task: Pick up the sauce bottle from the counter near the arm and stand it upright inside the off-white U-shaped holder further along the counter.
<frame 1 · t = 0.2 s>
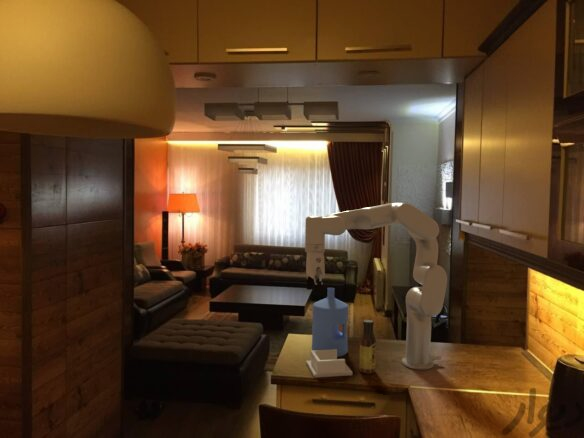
hand: (314, 292, 177), 31 cm above the worktop, tool pointing down, fingers open, 9 cm apart
sauce bottle: (367, 371, 179), on the worktop
end holder: (328, 369, 180), on the worktop
water jug: (329, 352, 200), on the worktop
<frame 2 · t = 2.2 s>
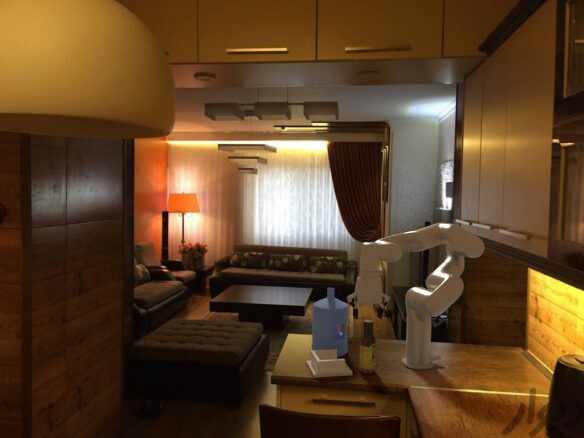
hand: (367, 318, 177), 21 cm above the worktop, tool pointing down, fingers open, 9 cm apart
nothing on the worktop moved.
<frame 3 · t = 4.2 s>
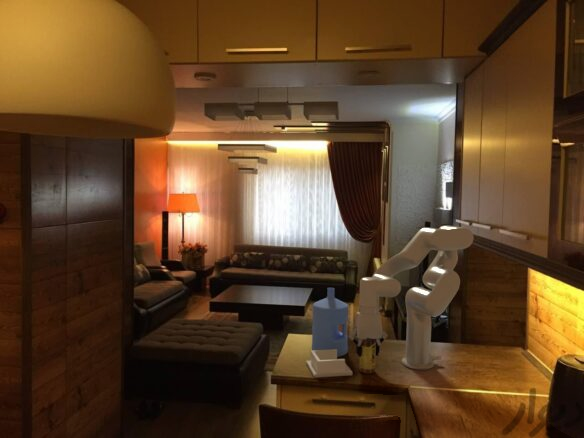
hand: (367, 354, 178), 7 cm above the worktop, tool pointing down, fingers closed on sauce bottle, 6 cm apart
sauce bottle: (367, 371, 179), on the worktop, touching gripper
everything else where it was.
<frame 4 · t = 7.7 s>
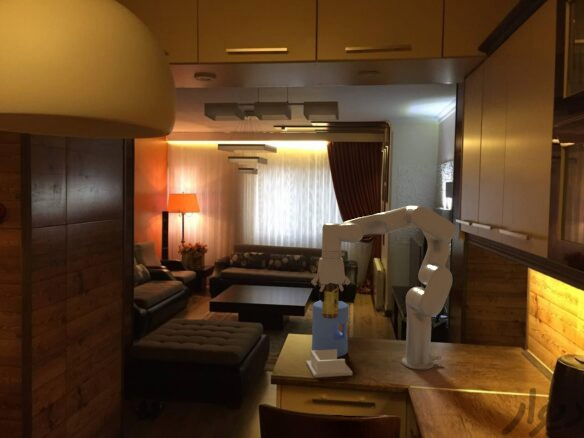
hand: (330, 300, 178), 27 cm above the worktop, tool pointing down, fingers closed on sauce bottle, 6 cm apart
sauce bottle: (330, 317, 179), point 21 cm above the worktop, touching gripper
everything else where it was.
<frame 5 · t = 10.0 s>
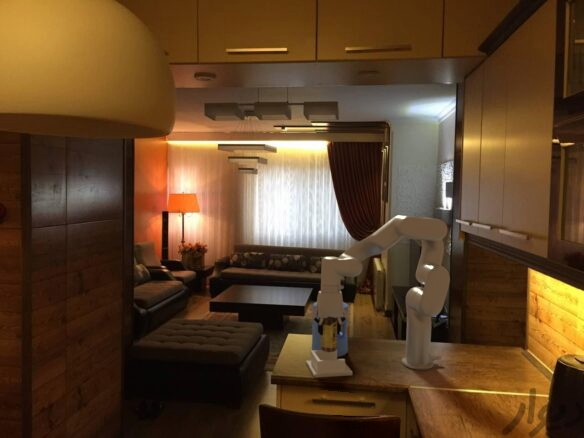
hand: (329, 333, 179), 14 cm above the worktop, tool pointing down, fingers closed on sauce bottle, 6 cm apart
sauce bottle: (328, 350, 180), point 8 cm above the worktop, touching gripper
everything else where it was.
when the fingers open (9 cm above the worktop, at t = 11.6 s): sauce bottle drops 1 cm, resting on end holder.
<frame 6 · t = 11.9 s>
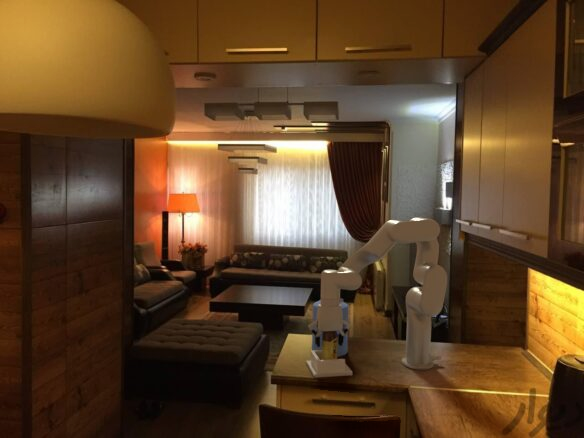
hand: (329, 345, 179), 10 cm above the worktop, tool pointing down, fingers open, 8 cm apart
sauce bottle: (329, 366, 180), point 1 cm above the worktop, touching end holder
everything else where it was.
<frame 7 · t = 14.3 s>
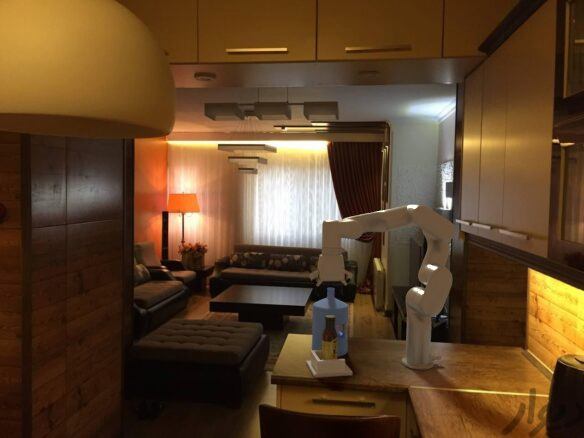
hand: (330, 295, 178), 29 cm above the worktop, tool pointing down, fingers open, 9 cm apart
nothing on the worktop moved.
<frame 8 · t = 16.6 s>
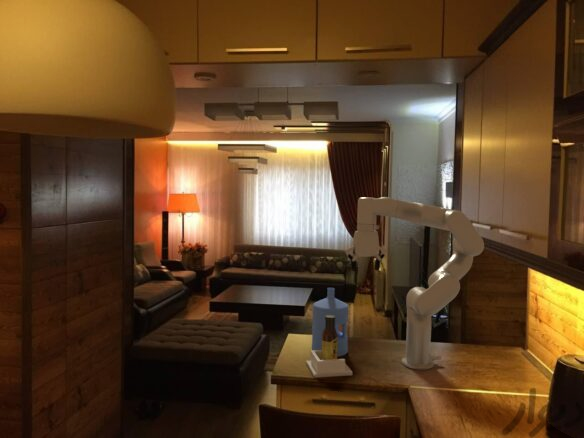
hand: (365, 270, 184), 38 cm above the worktop, tool pointing down, fingers open, 9 cm apart
nothing on the worktop moved.
at the end: sauce bottle 0.2 cm off-centre on the end holder, point 1.0 cm above the end holder's base; sauce bottle tilted 0°; the gripper is holding nothing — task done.
